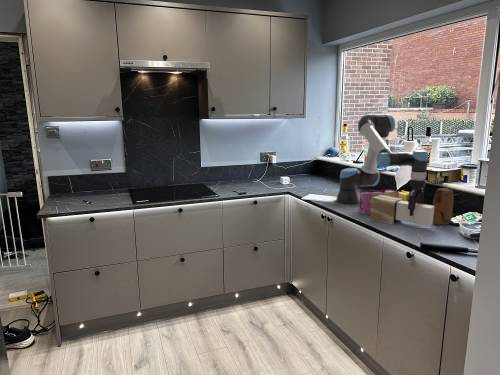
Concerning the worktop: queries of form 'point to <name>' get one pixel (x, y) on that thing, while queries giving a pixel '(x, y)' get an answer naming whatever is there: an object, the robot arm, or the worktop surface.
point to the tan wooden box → (384, 208)
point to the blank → (421, 213)
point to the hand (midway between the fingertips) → (414, 219)
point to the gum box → (367, 195)
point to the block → (443, 206)
